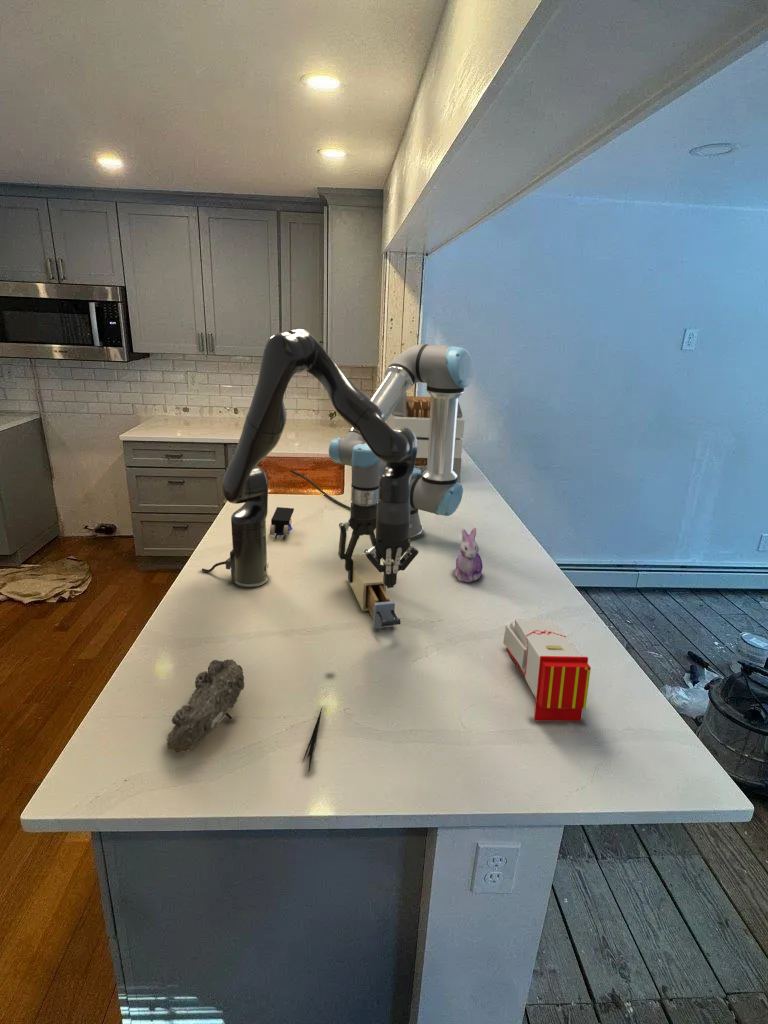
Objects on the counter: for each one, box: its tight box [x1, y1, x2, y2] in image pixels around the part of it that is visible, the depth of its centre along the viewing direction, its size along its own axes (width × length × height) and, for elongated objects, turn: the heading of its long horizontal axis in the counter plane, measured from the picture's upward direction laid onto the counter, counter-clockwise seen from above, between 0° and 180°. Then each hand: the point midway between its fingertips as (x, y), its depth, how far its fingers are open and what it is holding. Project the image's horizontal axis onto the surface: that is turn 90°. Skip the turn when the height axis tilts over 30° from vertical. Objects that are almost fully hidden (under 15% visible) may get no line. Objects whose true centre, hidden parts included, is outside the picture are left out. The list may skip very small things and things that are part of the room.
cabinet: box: [348, 553, 387, 612], centre depth 155 cm, size 17×6×8 cm, turn 16°
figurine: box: [454, 527, 484, 583], centre depth 168 cm, size 9×10×15 cm
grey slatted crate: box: [386, 390, 465, 483], centre depth 268 cm, size 34×33×41 cm
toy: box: [503, 618, 592, 722], centre depth 122 cm, size 12×13×30 cm
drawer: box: [366, 584, 402, 629], centre depth 143 cm, size 22×5×6 cm, turn 16°
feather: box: [301, 673, 332, 771], centre depth 108 cm, size 2×28×2 cm
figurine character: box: [269, 506, 295, 540], centre depth 194 cm, size 7×8×15 cm
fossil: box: [166, 658, 245, 754], centre depth 106 cm, size 22×10×15 cm
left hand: (389, 586), depth 133 cm, fingers closed
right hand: (362, 579), depth 160 cm, fingers closed on cabinet, 6 cm apart
